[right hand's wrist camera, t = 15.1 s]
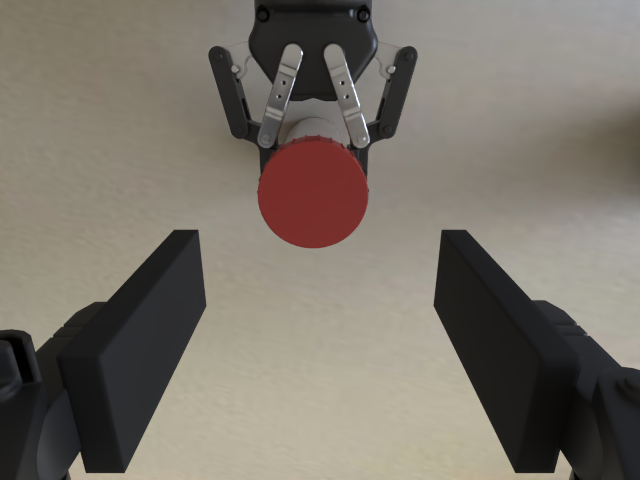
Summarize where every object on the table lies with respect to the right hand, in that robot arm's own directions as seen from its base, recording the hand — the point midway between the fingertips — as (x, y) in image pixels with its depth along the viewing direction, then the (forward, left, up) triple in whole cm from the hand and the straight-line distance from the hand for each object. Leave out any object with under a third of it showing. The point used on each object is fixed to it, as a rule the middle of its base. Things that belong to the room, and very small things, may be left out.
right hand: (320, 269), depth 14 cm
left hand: (+1, -3, -19) cm, 19 cm away
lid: (0, 0, -9) cm, 9 cm away
